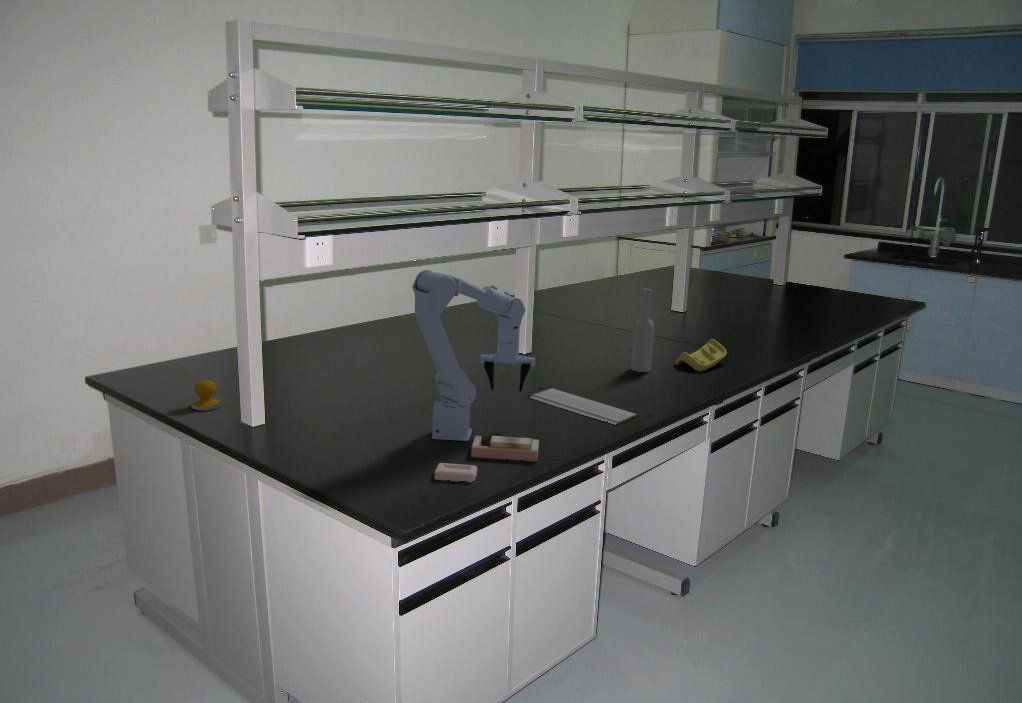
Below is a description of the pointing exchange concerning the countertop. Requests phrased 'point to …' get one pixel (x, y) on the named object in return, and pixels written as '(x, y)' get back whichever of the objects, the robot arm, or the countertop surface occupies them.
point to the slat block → (511, 442)
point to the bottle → (643, 337)
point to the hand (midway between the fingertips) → (506, 389)
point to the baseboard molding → (582, 406)
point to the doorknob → (205, 393)
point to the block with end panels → (504, 451)
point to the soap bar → (455, 472)
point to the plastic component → (703, 356)
